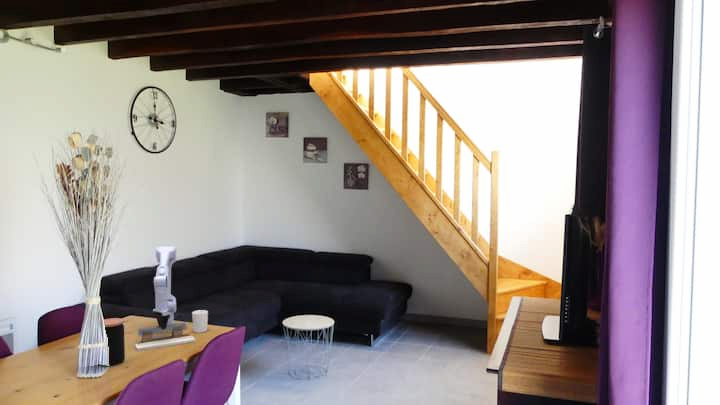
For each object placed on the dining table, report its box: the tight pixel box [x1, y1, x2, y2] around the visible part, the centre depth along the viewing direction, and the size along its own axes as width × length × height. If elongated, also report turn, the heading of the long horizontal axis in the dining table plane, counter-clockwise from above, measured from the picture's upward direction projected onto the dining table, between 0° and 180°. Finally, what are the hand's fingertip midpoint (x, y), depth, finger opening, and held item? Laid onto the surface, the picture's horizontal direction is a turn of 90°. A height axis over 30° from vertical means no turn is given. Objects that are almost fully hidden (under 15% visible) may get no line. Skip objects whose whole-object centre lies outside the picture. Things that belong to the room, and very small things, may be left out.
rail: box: [137, 322, 187, 337], centre depth 260 cm, size 3×22×3 cm, turn 121°
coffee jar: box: [103, 317, 126, 367], centre depth 228 cm, size 11×11×18 cm
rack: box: [140, 328, 184, 344], centre depth 260 cm, size 6×19×5 cm, turn 121°
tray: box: [134, 335, 196, 352], centre depth 253 cm, size 7×26×1 cm, turn 121°
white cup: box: [191, 309, 209, 334], centre depth 275 cm, size 8×8×10 cm
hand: (162, 327), depth 259 cm, fingers open, 7 cm apart
